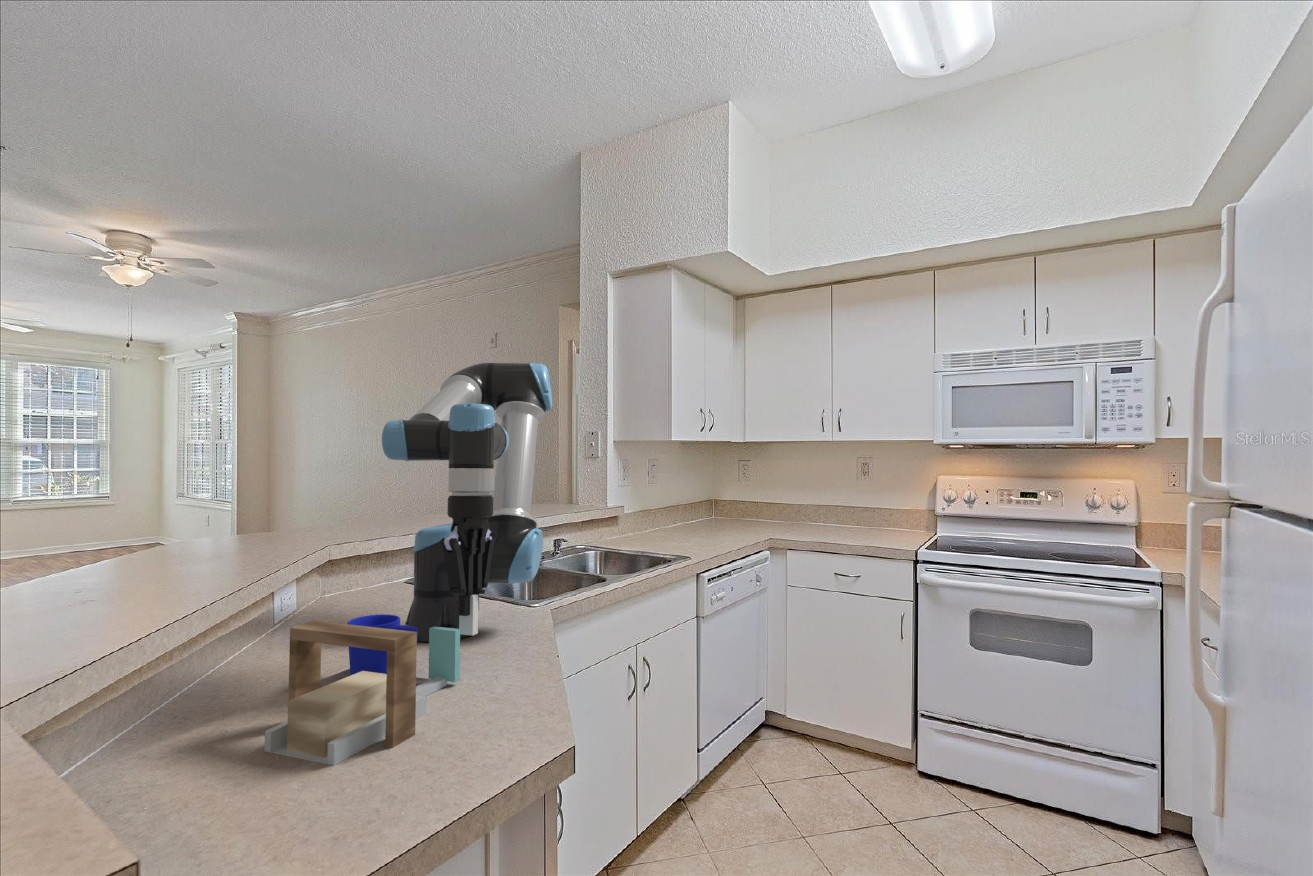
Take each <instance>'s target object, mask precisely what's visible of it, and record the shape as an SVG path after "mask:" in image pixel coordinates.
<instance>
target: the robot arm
mask: <svg viewBox="0 0 1313 876" xmlns="http://www.w3.org/2000/svg"><path fill="white" fill-rule="evenodd" d="M552 409H553V396H552V387H551V379H550V374H549V370H548V367H547V365H545V364H543V363H532V362H526V363H525V362H524V363H523V362H518V363H517V362H481V363H477V364H476V363H475V364H473V365H470V366H467V367H465V368H462V369H460V370H458V371H456V372H454V373H453V374H452V375H450V376H448V378H446V379H445V380H444V381H443V382H442V384H441V386H440V390H439V392H438V393H436V395H434V397H432V398H431V399H430V400H429V401H428V402H426V404H425V405H423V407H421V408H420V409H419V410H418V411H417V412H416V413H415V414H414V415H413V416H411V417H410V418H409V419H408V420H407V419H405V420H404V419H398V420H396V419H395V420H389V421H388V422H387V423H386V424H385V425H384V427H383V429H382V433H381V444H382V451H383V453H384V455H385V456H386V458H387V459H389V460H393V461H405V462H408V461H409V462H410V461H412V462H413V461H416V462H419V461H422V462H423V461H426V462H427V461H448V481H447V483H448V486H447V487H448V488H447V491H448V492H449V493H451V495H449V496H448V497H447V516H448V517H449V518H451V519H452V523H446V524H441V525H440V524H439V525H433V526H428V527H424V528H421V529H419V530H418V531H417V533H416V534H415V537H414V549H413V599H412V602H411V605H410V608H409V611H408V614H407V618H406V620H405V622H404V625H405V626H413V627H417V628H418V637H417V642H422V643H423V642H424V643H429V628H431V627H434V626H435V627H444V628H454V629H460V640H461V639H465V638H467V637H470V636H472V637H473V636H475V635H477V634H479V610H480V595H481V594H482V595H484V594H485V593H486V589H487V588H488V584H508V585H515V584H525V583H526V584H527V583H529V582H531V581H533V580H534V579H535V577H536V575H537V574H538V571H539V568H540V563H541V560H542V553H543V543H544V534H543V530H542V529H541V528H540V529H539V527H537V526H538V525H537V521H536V519H534V517H533V516H532V515H531V514H532V513H531V512H532V502H533V501H532V500H533V487H534V477H535V476H534V475H535V462H536V450H537V438H538V436H537V435H538V426H539V425H538V424H539V423H541V422H542V421H543V420H544V419H545V416H546V412H549V411H552ZM495 414H496V416H497V417H498V418H499V419H500V421H501V422H500V424H499V423H498V422H496V417H495ZM495 461H496V468H495V465H494V463H495ZM494 468H495V469H494ZM492 492H493V493H492ZM491 493H492V494H493V495H491Z"/></svg>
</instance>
